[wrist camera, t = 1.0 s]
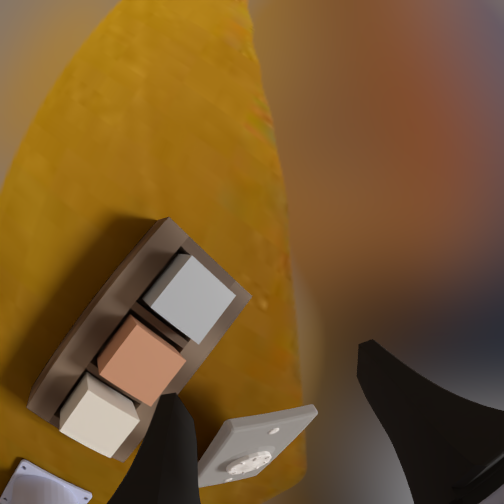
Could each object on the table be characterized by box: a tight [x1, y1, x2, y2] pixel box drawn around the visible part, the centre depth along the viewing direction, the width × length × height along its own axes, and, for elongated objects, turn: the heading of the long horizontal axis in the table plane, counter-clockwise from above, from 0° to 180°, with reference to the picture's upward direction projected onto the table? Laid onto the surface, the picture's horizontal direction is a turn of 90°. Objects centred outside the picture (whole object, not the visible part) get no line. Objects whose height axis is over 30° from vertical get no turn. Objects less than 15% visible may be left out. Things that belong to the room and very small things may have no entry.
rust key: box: [97, 314, 186, 406], centre depth 19 cm, size 4×4×3 cm
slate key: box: [142, 254, 236, 344], centre depth 21 cm, size 4×4×3 cm
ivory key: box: [60, 372, 140, 458], centre depth 17 cm, size 4×4×3 cm
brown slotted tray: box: [27, 217, 252, 463], centre depth 21 cm, size 18×9×4 cm, turn 138°
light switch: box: [198, 404, 318, 487], centre depth 25 cm, size 8×6×14 cm
